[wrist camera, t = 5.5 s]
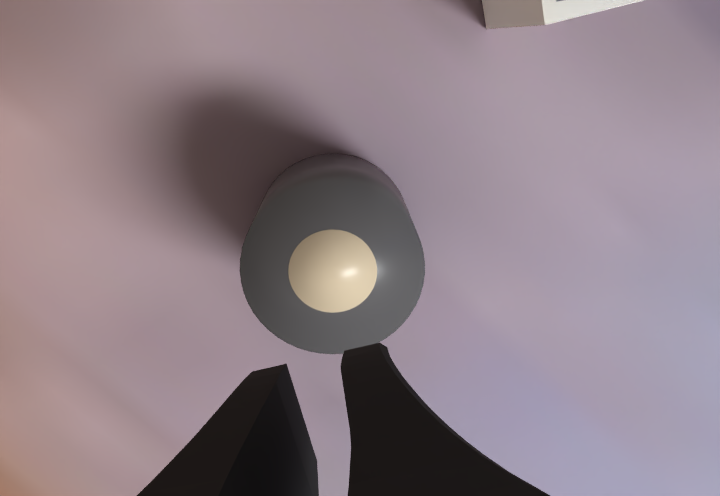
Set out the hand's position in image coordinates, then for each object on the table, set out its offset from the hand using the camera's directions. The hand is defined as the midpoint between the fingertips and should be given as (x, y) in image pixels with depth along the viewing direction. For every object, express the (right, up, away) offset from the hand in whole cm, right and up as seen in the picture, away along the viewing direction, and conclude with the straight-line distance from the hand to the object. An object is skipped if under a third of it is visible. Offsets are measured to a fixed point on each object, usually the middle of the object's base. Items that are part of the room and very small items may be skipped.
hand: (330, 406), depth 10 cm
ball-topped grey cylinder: (0, +3, +10) cm, 10 cm away
